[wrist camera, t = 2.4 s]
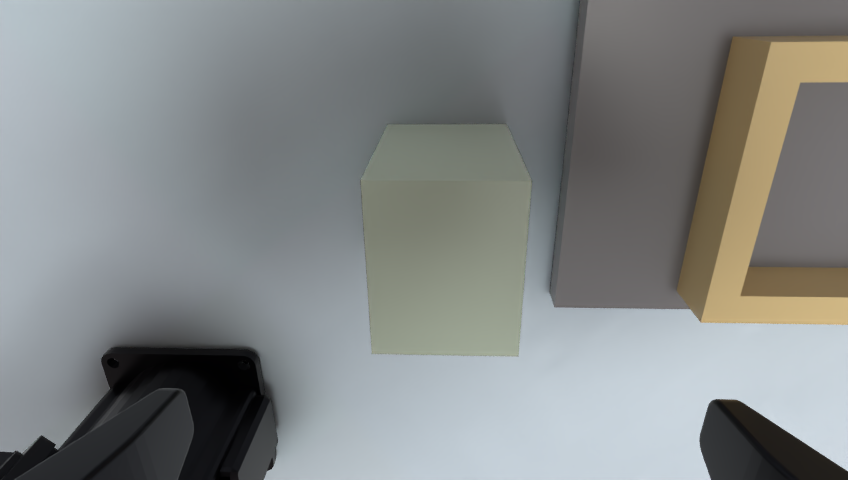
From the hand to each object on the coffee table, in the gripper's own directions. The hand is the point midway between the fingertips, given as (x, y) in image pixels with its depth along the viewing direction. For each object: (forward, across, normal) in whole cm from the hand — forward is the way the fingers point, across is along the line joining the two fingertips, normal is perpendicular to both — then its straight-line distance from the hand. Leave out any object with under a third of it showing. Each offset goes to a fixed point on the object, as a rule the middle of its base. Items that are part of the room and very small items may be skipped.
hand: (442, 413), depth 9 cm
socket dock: (+11, -12, -2) cm, 16 cm away
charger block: (+11, 0, 0) cm, 11 cm away
